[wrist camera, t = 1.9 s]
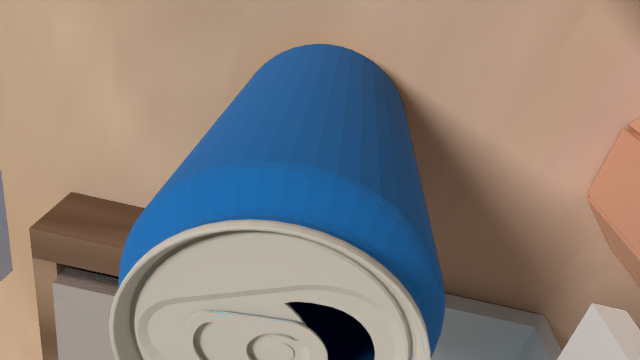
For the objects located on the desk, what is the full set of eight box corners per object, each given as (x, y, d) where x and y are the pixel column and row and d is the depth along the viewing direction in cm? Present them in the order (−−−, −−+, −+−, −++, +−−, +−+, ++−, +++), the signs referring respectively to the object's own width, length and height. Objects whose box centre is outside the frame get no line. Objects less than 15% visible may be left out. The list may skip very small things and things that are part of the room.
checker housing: (71, 192, 21) (16, 239, 18) (306, 244, 22) (295, 301, 18) (80, 372, 27) (39, 434, 24) (266, 412, 27) (252, 479, 24)
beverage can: (390, 201, 20) (418, 493, 10) (242, 183, 20) (108, 450, 10) (418, 49, 17) (503, 229, 7) (244, 30, 17) (53, 175, 7)
